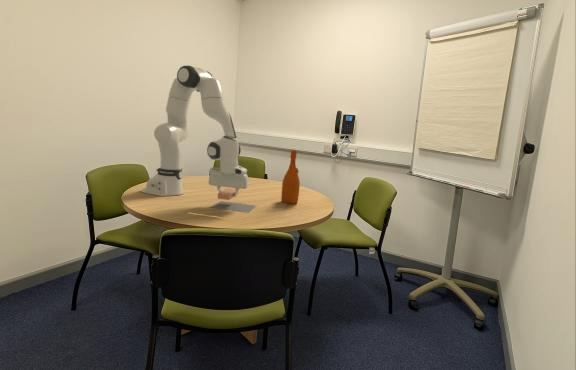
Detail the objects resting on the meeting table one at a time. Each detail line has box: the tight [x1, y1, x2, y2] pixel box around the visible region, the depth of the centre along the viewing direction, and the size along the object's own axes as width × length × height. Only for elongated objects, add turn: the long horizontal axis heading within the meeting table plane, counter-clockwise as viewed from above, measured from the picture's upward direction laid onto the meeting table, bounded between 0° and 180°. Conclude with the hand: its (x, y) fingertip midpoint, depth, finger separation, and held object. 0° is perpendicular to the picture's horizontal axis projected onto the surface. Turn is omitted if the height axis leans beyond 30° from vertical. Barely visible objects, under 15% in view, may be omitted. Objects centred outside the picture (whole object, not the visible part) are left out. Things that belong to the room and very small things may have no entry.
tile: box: [217, 187, 239, 201], centre depth 180 cm, size 6×2×14 cm
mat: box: [209, 200, 257, 214], centre depth 180 cm, size 20×15×1 cm
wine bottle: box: [280, 149, 301, 205], centre depth 199 cm, size 10×10×30 cm
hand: (227, 195), depth 180 cm, fingers closed on tile, 6 cm apart
